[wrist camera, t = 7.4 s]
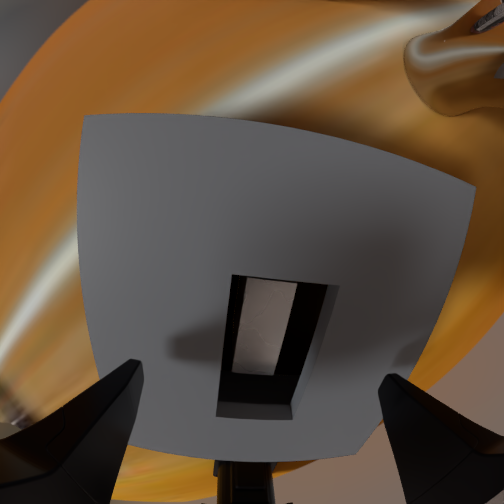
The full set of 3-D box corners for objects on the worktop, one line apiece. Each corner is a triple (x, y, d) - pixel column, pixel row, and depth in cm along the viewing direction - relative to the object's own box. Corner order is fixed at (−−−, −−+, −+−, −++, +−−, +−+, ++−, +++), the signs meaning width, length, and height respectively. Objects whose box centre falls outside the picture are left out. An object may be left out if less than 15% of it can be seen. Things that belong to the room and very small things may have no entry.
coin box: (330, 383, 19) (355, 454, 13) (147, 368, 18) (121, 442, 11) (393, 172, 14) (476, 187, 8) (150, 132, 13) (84, 115, 7)
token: (264, 321, 17) (273, 375, 12) (233, 317, 17) (231, 372, 12) (279, 245, 16) (297, 283, 11) (244, 241, 15) (247, 277, 11)
